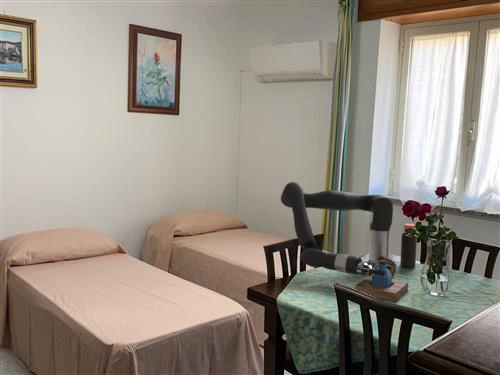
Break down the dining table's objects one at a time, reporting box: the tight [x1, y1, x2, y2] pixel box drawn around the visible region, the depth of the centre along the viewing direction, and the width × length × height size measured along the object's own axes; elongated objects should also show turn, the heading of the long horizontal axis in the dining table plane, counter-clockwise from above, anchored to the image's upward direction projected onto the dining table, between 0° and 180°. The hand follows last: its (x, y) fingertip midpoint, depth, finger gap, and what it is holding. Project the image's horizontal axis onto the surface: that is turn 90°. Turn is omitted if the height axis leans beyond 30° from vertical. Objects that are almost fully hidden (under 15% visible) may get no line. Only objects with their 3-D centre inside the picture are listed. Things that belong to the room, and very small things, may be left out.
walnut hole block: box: [354, 276, 409, 303], centre depth 196 cm, size 16×16×4 cm
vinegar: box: [400, 223, 418, 269], centre depth 232 cm, size 7×7×20 cm
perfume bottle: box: [372, 260, 393, 288], centre depth 196 cm, size 6×6×12 cm
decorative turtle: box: [377, 256, 398, 277], centre depth 217 cm, size 10×15×8 cm, turn 7°
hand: (388, 270), depth 194 cm, fingers open, 7 cm apart
